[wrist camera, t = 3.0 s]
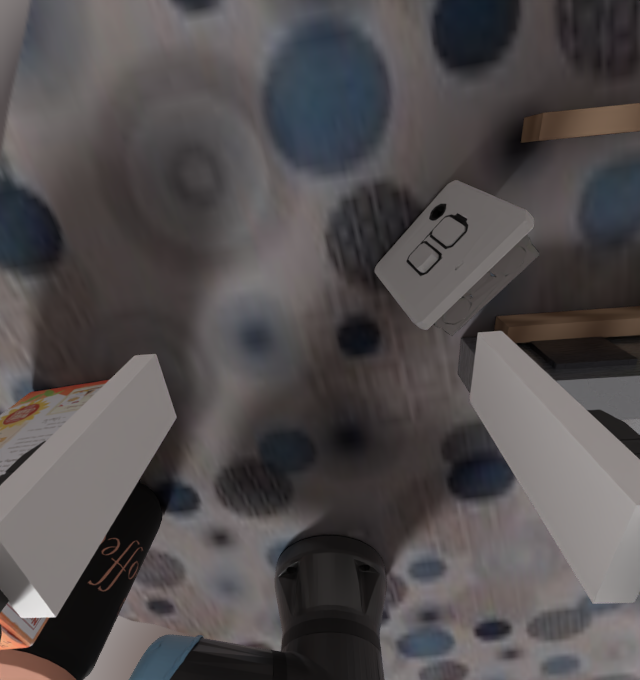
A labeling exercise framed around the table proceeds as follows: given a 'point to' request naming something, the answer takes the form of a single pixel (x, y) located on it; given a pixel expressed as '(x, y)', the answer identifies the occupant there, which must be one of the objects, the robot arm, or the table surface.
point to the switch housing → (582, 370)
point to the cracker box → (17, 439)
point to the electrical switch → (457, 256)
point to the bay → (578, 321)
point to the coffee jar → (91, 599)
